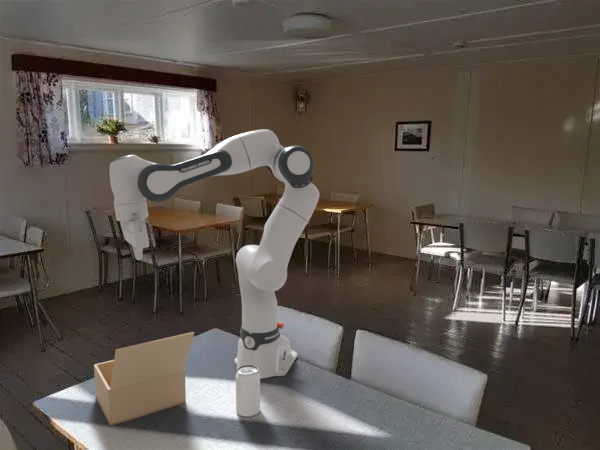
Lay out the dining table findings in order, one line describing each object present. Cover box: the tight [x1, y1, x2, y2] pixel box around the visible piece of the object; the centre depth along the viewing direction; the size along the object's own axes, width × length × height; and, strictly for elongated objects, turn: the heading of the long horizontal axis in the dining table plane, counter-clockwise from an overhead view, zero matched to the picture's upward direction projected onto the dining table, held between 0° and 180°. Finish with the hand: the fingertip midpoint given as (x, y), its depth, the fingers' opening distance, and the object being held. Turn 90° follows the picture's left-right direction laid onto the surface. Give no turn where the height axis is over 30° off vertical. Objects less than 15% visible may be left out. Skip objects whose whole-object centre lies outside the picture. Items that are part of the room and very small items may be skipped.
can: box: [235, 365, 261, 418], centre depth 126 cm, size 6×6×12 cm
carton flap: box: [110, 331, 195, 391], centre depth 119 cm, size 16×19×1 cm
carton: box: [93, 359, 187, 427], centre depth 131 cm, size 16×20×10 cm
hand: (139, 259), depth 138 cm, fingers closed
